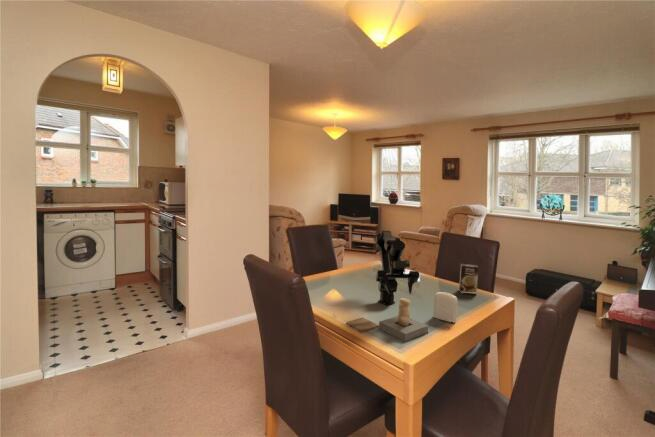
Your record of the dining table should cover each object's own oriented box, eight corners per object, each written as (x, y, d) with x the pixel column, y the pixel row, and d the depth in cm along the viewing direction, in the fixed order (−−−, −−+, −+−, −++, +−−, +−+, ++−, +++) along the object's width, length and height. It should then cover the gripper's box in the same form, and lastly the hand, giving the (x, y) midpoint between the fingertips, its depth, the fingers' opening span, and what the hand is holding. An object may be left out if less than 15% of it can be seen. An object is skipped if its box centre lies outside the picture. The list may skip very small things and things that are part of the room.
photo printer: (431, 317, 154) (433, 291, 153) (435, 315, 157) (437, 289, 156) (453, 324, 147) (455, 296, 146) (457, 321, 150) (459, 294, 149)
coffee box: (459, 293, 192) (461, 265, 190) (458, 290, 198) (460, 263, 196) (476, 295, 189) (478, 267, 187) (475, 292, 195) (477, 264, 194)
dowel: (395, 329, 139) (397, 299, 138) (402, 327, 142) (404, 297, 141) (403, 333, 136) (405, 302, 135) (410, 331, 138) (412, 300, 137)
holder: (378, 328, 140) (379, 321, 140) (401, 321, 149) (401, 314, 148) (405, 341, 129) (405, 333, 129) (427, 332, 138) (428, 325, 137)
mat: (345, 324, 144) (345, 322, 143) (362, 319, 150) (362, 317, 149) (361, 332, 136) (361, 330, 136) (378, 327, 142) (378, 325, 142)
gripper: (378, 252, 149) (381, 283, 139) (419, 253, 149) (426, 284, 139) (374, 265, 157) (377, 296, 147) (413, 266, 158) (419, 297, 148)
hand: (400, 293), depth 145 cm, fingers open, 9 cm apart
